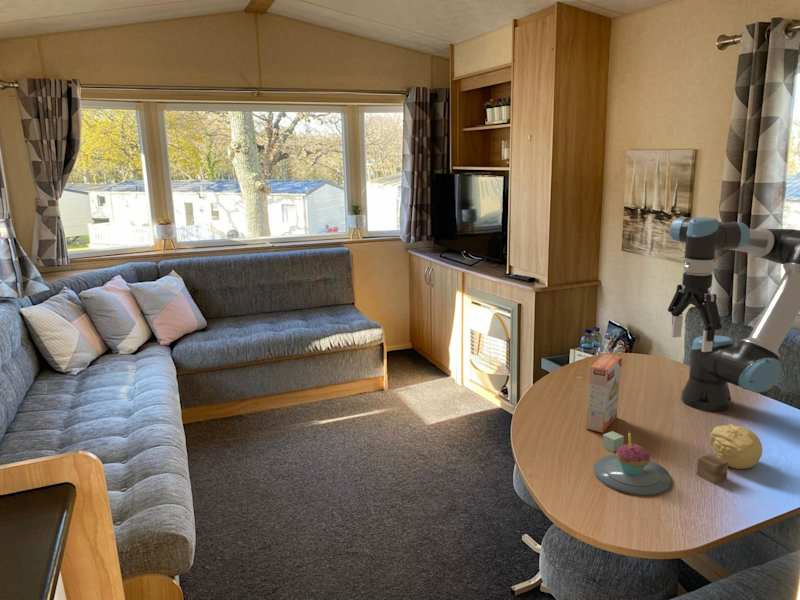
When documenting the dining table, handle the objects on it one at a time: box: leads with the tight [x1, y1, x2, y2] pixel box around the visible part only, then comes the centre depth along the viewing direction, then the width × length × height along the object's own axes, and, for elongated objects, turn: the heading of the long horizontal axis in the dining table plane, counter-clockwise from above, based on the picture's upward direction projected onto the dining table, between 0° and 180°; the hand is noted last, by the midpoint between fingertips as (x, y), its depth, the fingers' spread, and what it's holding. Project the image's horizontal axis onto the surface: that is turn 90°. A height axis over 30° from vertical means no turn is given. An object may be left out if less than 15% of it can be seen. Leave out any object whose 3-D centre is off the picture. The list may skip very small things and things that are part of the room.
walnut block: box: [696, 453, 729, 484], centre depth 157 cm, size 5×5×5 cm
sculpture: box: [709, 423, 763, 470], centre depth 163 cm, size 12×12×11 cm
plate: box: [593, 454, 672, 497], centre depth 159 cm, size 19×19×1 cm
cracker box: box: [585, 353, 623, 434], centre depth 186 cm, size 14×6×21 cm, turn 144°
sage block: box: [601, 431, 625, 453], centre depth 173 cm, size 4×4×4 cm
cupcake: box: [615, 431, 651, 475], centre depth 157 cm, size 9×8×12 cm
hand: (690, 343), depth 175 cm, fingers open, 13 cm apart
